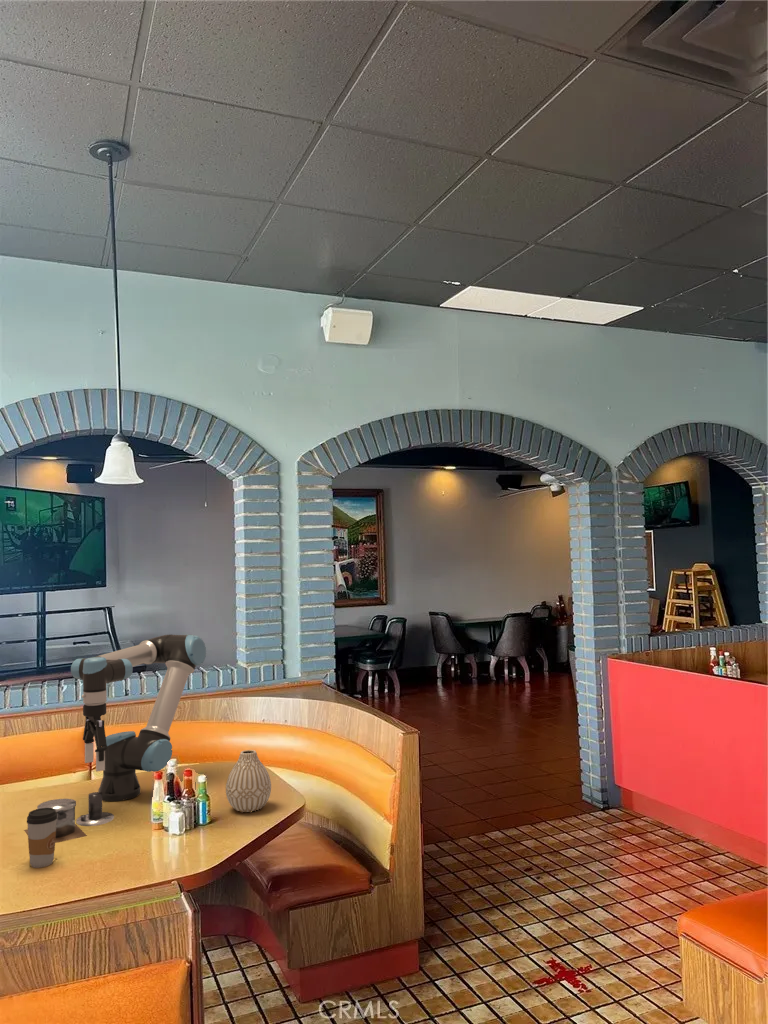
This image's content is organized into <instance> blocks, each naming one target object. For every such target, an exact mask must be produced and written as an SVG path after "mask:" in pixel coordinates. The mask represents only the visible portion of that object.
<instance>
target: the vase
mask: <svg viewBox="0 0 768 1024" xmlns="http://www.w3.org/2000/svg"><path fill="white" fill-rule="evenodd" d="M239 753H240V754H239V756H238V760H237V761H236V763H235V764H234V765H233V767H232V768H231V771H230V773H229V774H228V777H227V779H226V780H227V781H226V783H225V795H226V799H227V801H228V803H229V805H230V806H231V807H232V808H233V809H234V810H235V811H237V812H238V811H241V812H240V813H243V812H250V813H252V812H251V811H255V812H257V811H256V810H258V811H260V810H261V809H262V808H263V807H264V806H265V805H266V804H267V803H268V802H269V799H270V798H271V797H270V796H271V793H272V781H271V778H270V774H269V771H268V770H267V768H266V767H265V765H264V764H263V763H262V761H261V760H260V758H259V756H258V753H257V751H256V750H255V749H245V750H241V751H240V752H239ZM259 809H260V810H259Z"/></svg>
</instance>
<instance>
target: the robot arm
mask: <svg viewBox="0 0 768 1024" xmlns="http://www.w3.org/2000/svg"><path fill="white" fill-rule="evenodd" d="M206 656H207V648H206V643H205V641H204V639H203V638H202V637H200V636H199V635H195V634H194V635H192V634H164V635H163V634H162V635H160V636H156V637H153V638H149V639H145V640H142V641H141V642H139V644H137V645H133V646H129V647H126V648H122V649H118V650H115V651H111V652H107V653H105V654H99V655H97V656H93V657H88V658H85V657H83V658H76V659H75V660H74V661H73V662H72V664H71V666H70V675H72V677H73V678H74V679H76V680H81V681H82V686H83V687H82V693H83V694H81V698H82V699H83V700H82V702H83V705H82V715H83V716H84V717H85V721H84V722H85V724H84V729H83V735H82V741H84V764H88V763H89V764H90V763H94V753H95V771H96V772H101V771H103V773H102V779H101V782H100V785H99V788H98V791H97V792H102V802H119V801H120V802H121V801H126V800H129V799H134V798H136V797H138V796H140V795H141V785H140V783H139V779H138V776H137V772H136V771H144V772H146V773H147V772H148V773H149V772H150V773H151V772H160V771H161V770H163V769H164V768H166V767H167V765H168V764H167V762H168V761H169V760H170V761H171V758H172V755H173V750H172V749H173V745H172V742H171V736H170V734H169V732H170V730H171V726H172V723H173V720H174V717H175V714H176V712H177V709H178V706H179V703H180V700H181V698H182V695H183V693H184V690H185V686H186V683H187V680H188V679H189V675H192V674H193V673H194V672H195V670H196V667H197V666H201V665H202V664H203V663H204V662H205V659H206ZM143 664H145V665H152V664H165V666H166V668H167V669H166V672H165V675H164V677H163V680H162V682H161V685H160V688H159V691H158V693H157V696H156V699H155V702H154V705H153V707H152V710H151V712H150V715H149V718H148V721H147V724H146V726H145V727H142V728H141V729H140V731H139V734H138V736H137V734H136V732H135V731H134V730H130V731H128V730H127V731H121V732H120V731H119V732H116V733H112V734H109V735H106V731H105V730H106V728H105V720H104V719H102V718H101V716H104V715H107V703H106V702H107V701H108V699H107V696H108V695H107V693H108V692H107V690H108V689H107V684H111V683H115V682H116V683H117V682H120V681H121V682H122V681H124V680H127V679H129V678H130V677H131V676H132V674H133V669H134V668H133V667H136V666H140V665H143ZM94 742H95V746H96V748H95V750H94ZM170 761H169V762H170Z"/></svg>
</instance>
